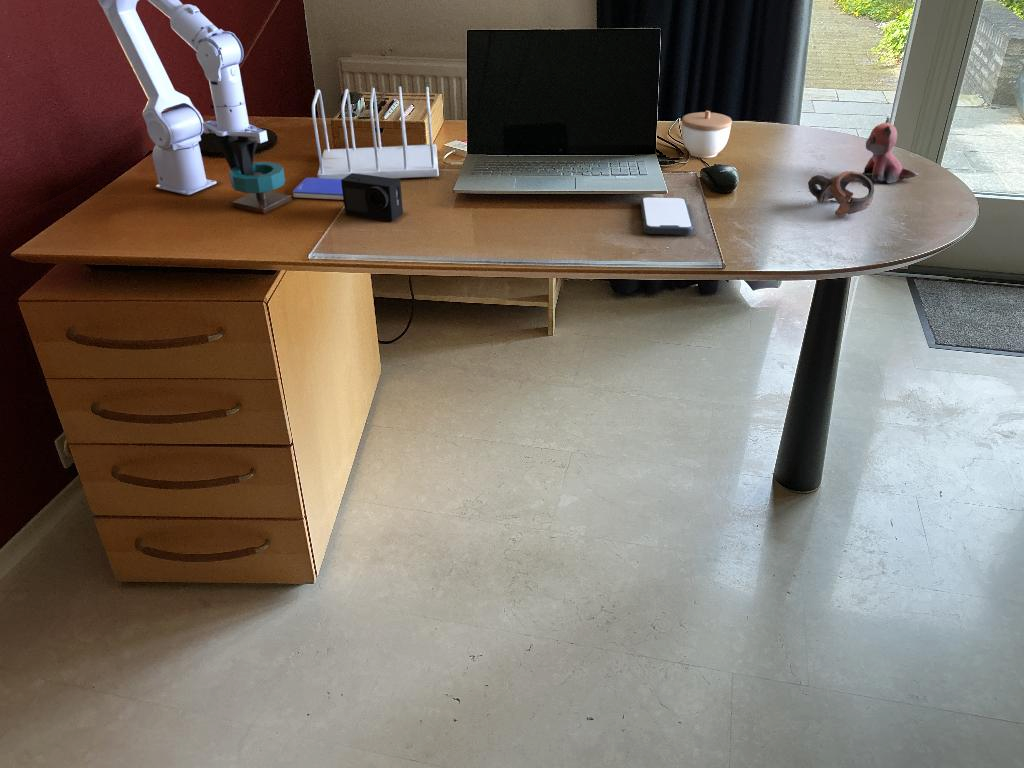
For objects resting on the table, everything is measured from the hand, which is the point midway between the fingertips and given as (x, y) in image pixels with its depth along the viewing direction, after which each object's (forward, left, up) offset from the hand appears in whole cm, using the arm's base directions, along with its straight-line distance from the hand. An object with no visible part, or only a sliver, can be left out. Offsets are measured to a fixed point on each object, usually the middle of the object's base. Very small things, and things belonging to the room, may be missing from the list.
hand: (242, 173), depth 168 cm
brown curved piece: (+104, +49, -6) cm, 115 cm away
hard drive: (+12, +11, -6) cm, 17 cm away
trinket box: (+71, +69, -6) cm, 99 cm away
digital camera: (+27, +5, -6) cm, 28 cm away
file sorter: (+12, +28, -6) cm, 31 cm away
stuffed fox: (+110, +70, -6) cm, 131 cm away
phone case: (+77, +29, -6) cm, 82 cm away
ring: (+4, 0, -1) cm, 4 cm away
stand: (+4, 0, -5) cm, 7 cm away
